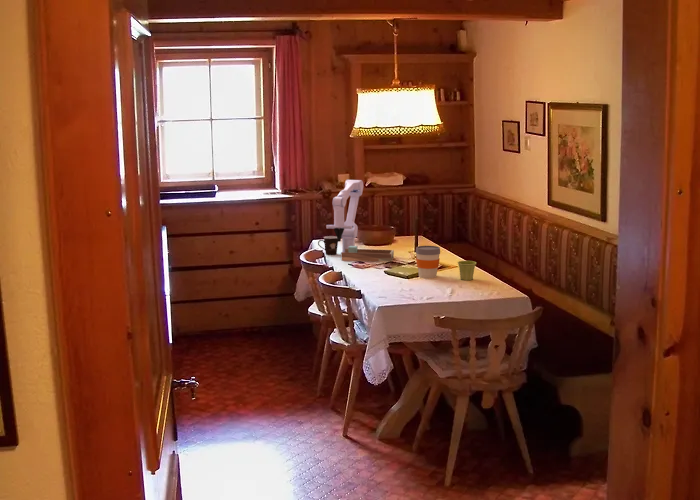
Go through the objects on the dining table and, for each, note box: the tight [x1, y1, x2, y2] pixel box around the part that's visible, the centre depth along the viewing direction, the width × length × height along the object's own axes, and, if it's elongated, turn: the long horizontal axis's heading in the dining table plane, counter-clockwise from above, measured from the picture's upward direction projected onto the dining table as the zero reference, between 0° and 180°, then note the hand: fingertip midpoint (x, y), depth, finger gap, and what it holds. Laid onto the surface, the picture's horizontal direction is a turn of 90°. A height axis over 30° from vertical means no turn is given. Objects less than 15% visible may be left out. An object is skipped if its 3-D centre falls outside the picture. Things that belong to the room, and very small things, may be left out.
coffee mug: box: [317, 235, 339, 256], centre depth 500 cm, size 12×9×10 cm
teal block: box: [348, 245, 358, 253], centre depth 488 cm, size 4×4×4 cm
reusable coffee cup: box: [415, 245, 441, 279], centre depth 437 cm, size 12×13×15 cm
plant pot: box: [457, 260, 477, 281], centre depth 431 cm, size 9×9×9 cm
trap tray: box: [341, 248, 395, 262], centre depth 485 cm, size 13×28×4 cm, turn 81°
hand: (339, 241), depth 489 cm, fingers closed
